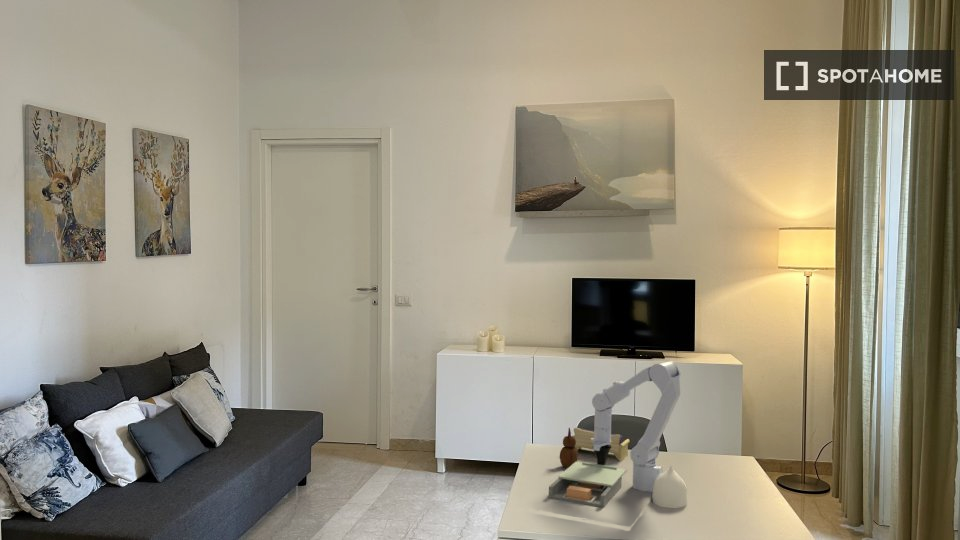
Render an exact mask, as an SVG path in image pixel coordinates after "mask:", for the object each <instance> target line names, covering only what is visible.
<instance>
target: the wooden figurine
mask: <svg viewBox="0 0 960 540" xmlns="http://www.w3.org/2000/svg"><path fill="white" fill-rule="evenodd" d="M572 436H573V435H572V431H571V427H568V432H567V435H566V436H564V437H563V439H562V445H563V447H562V448H561V449H560V451H559V460H560V465H561V467H563V468H564V469H568V468H569V467H570V466H571V465H572V464H574V463H575V462H578V459H579V450H578V451H577V449H576V447H574V446H575V445H576V439H575V438H574V437H572Z"/></svg>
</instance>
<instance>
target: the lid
mask: <svg viewBox="0 0 960 540" xmlns="http://www.w3.org/2000/svg"><path fill="white" fill-rule="evenodd" d="M626 472H627V468H626V469H625V468H619V467H617V466H613V465H606V464H605V465H600V464H598V463H593V462H586V461H582V462H580V461H577V462H575V463H574V464H572V465H571V466H570V467H569V468H565V470H564V471H563V472H562V473H560V474H559V475H558V477H557V479H558V478H561V479H567V480H573V481H579V482H585V483H591V484H597V485H604V486H610V487H613V486H614V484H615V483H616V482H617V481H618V480H619V479H620V478H621V477H623V476H624V474H626Z"/></svg>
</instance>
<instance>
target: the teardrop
mask: <svg viewBox="0 0 960 540" xmlns="http://www.w3.org/2000/svg"><path fill="white" fill-rule="evenodd" d="M651 502H653V504H655V505H657V506H659V507H663V508H669V509H680V508H685V507H687V506H688V488H687V485H686V482H685V481H684V480H683V478H682V477H681V476H680V475H679V474H678V473H677V472H676V471H675V470H674V469H673V466H672V465H670V466H669V467H668V469H667V470H665V471H663V472H662V474H660V476H659V477H658V478H657V479H656V480H655V483H654V486H653V492H652V495H651Z"/></svg>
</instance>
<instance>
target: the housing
mask: <svg viewBox="0 0 960 540" xmlns="http://www.w3.org/2000/svg"><path fill="white" fill-rule="evenodd" d="M622 477H623V476H622ZM622 477H621V478H620V479H619V480H618V481H617V482H616V483H615V484H614V486H613V487H610V486H604V485H597V484H591V483H585V482H579V481H573V480H567V479H561V478H558V477H557V479H556V480H555V481H554V482H552V483H551V484H550V485H549V486H548V499H553V500H560V501H565V502H569V503H570V502H571V503H575V504H581V505H586V506H592V507H599V508H606V506H607V505H608V504H609V503H610V501H611V500H612V499H613V498H614V496H615V497H616V495H617V493H618V492H619V491H620V490H621V489H622V479H623V478H622ZM569 486H576V487H582V488H588V489H591V500H590V501H586V500H581V499H575V498H569V497H567V488H568V487H569Z"/></svg>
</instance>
